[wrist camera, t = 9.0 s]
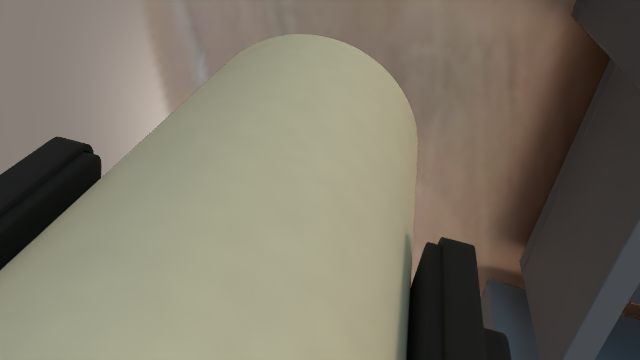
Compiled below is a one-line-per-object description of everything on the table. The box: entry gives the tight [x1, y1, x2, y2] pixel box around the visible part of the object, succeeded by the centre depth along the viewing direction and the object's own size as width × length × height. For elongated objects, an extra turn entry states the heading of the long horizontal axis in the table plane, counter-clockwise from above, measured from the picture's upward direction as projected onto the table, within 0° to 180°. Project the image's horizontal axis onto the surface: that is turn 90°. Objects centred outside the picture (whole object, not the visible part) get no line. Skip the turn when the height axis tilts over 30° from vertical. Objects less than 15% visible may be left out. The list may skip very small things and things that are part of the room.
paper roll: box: [0, 34, 418, 360], centre depth 10 cm, size 6×6×12 cm
